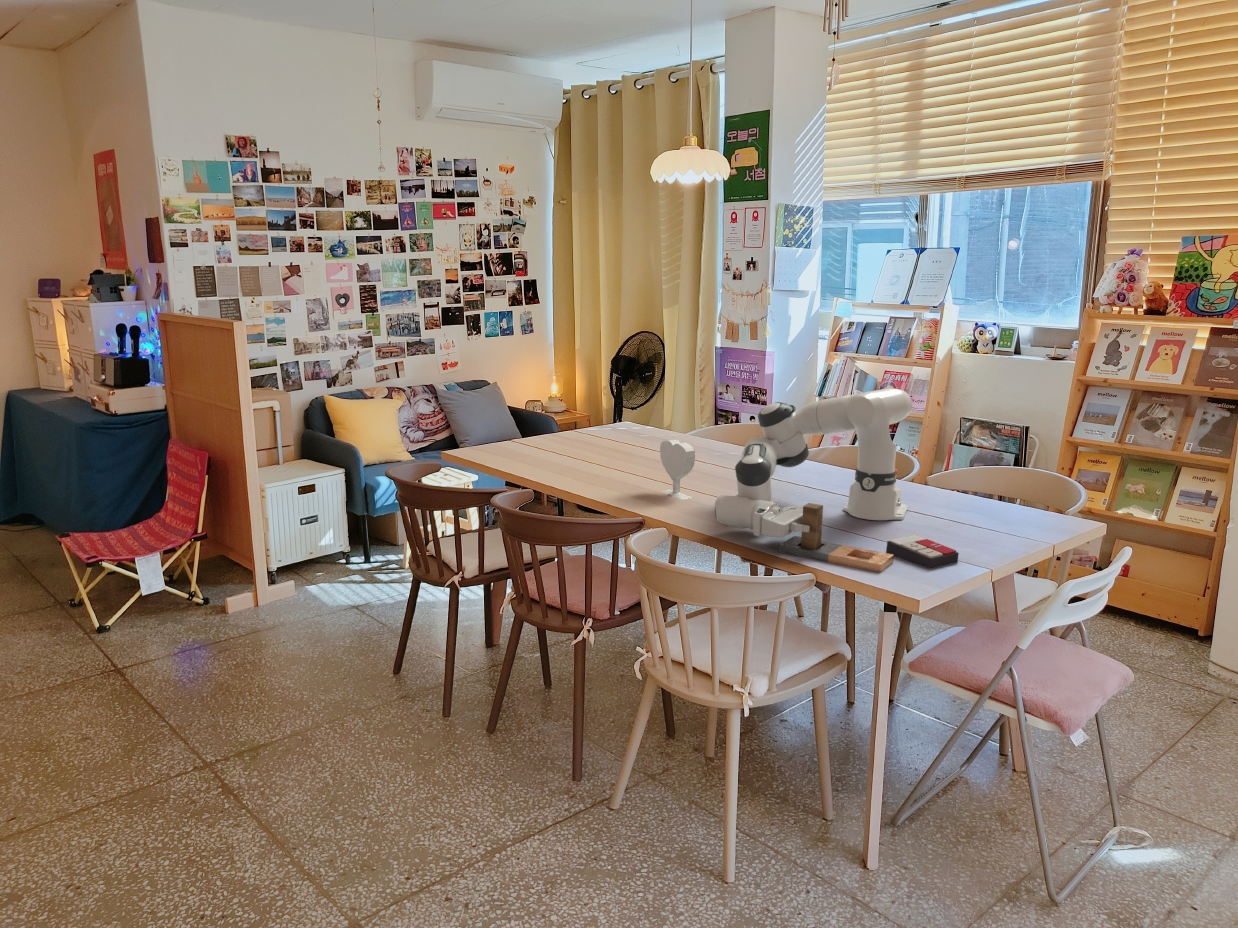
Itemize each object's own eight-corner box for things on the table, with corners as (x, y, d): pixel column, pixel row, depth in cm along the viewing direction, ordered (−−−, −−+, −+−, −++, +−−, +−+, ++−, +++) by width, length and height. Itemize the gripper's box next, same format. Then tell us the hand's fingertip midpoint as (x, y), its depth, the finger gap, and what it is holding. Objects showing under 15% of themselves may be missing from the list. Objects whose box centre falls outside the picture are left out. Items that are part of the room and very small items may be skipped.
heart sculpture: (695, 498, 298) (697, 445, 294) (683, 500, 296) (684, 446, 292) (669, 488, 311) (670, 437, 307) (657, 490, 309) (658, 438, 305)
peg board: (794, 542, 253) (794, 535, 252) (893, 561, 237) (894, 554, 237) (778, 551, 245) (779, 544, 244) (880, 572, 229) (881, 564, 229)
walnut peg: (806, 548, 248) (809, 502, 245) (820, 551, 245) (823, 505, 243) (800, 552, 244) (803, 506, 242) (814, 555, 242) (817, 508, 239)
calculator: (931, 556, 232) (886, 538, 244) (929, 572, 233) (885, 553, 245) (960, 550, 237) (915, 532, 249) (957, 565, 238) (913, 547, 251)
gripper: (783, 519, 259) (829, 527, 252) (751, 537, 243) (799, 546, 235) (784, 498, 258) (830, 506, 250) (752, 514, 242) (800, 523, 234)
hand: (815, 525), depth 243 cm, fingers open, 5 cm apart
